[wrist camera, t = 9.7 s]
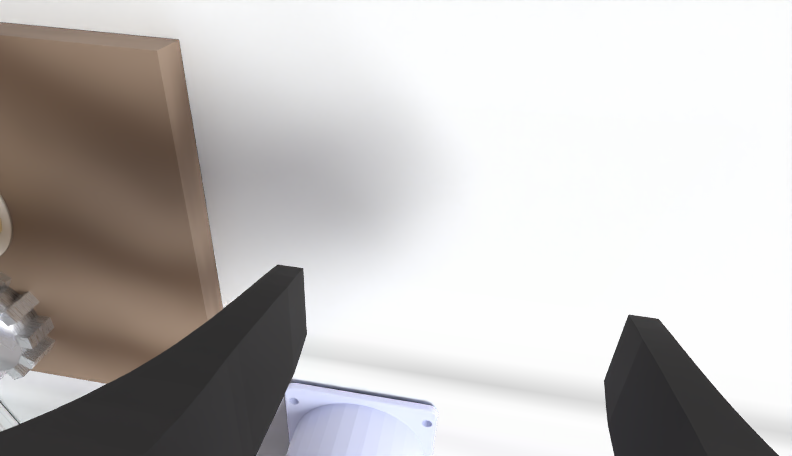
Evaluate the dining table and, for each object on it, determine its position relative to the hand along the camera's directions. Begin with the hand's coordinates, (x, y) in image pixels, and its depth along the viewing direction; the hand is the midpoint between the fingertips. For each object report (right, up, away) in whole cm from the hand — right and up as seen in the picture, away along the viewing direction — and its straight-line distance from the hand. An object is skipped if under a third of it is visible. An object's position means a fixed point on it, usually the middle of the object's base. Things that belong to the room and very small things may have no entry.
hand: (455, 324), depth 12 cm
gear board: (-17, +2, +13) cm, 22 cm away
